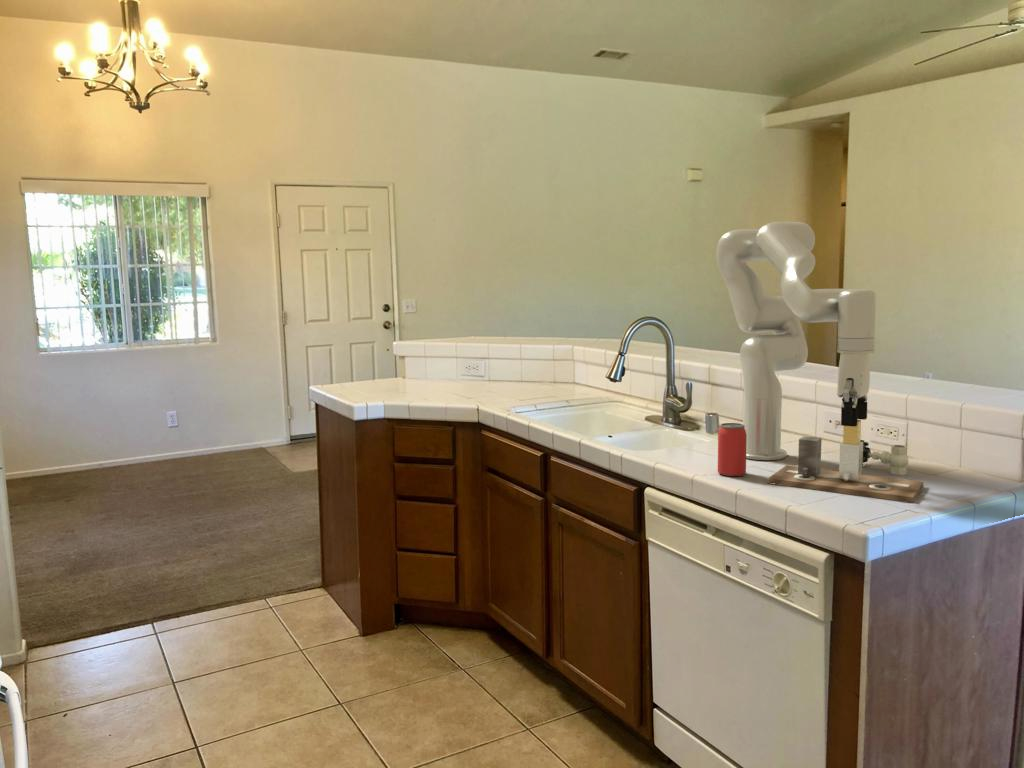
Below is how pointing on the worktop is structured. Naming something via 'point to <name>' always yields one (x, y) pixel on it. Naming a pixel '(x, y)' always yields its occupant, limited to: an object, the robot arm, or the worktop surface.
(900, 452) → the valve
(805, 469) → the bolt plate
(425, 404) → the worktop surface
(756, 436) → the robot arm
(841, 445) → the block
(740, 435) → the beer can
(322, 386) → the worktop surface
